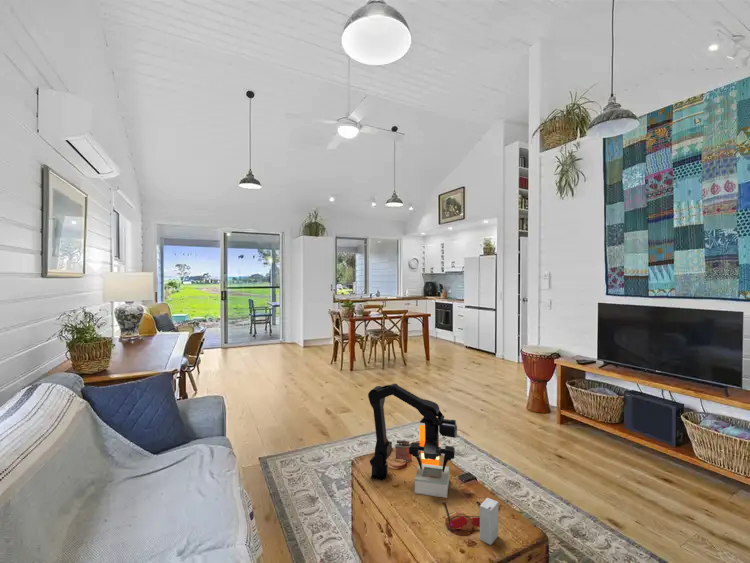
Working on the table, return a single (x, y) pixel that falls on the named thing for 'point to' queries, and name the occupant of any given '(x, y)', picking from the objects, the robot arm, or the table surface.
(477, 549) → the table surface
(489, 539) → the skincare box
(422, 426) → the orange juice
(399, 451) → the ornate red flask
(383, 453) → the robot arm
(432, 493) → the slot box
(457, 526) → the glasses
